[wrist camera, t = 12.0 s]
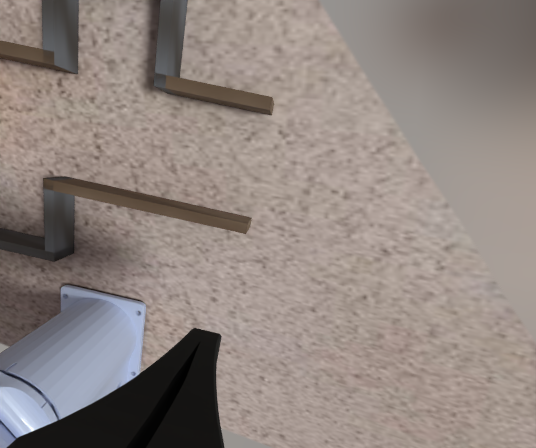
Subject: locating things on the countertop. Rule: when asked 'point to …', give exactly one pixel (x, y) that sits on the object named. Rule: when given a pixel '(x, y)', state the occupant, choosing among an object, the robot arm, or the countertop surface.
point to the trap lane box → (65, 188)
